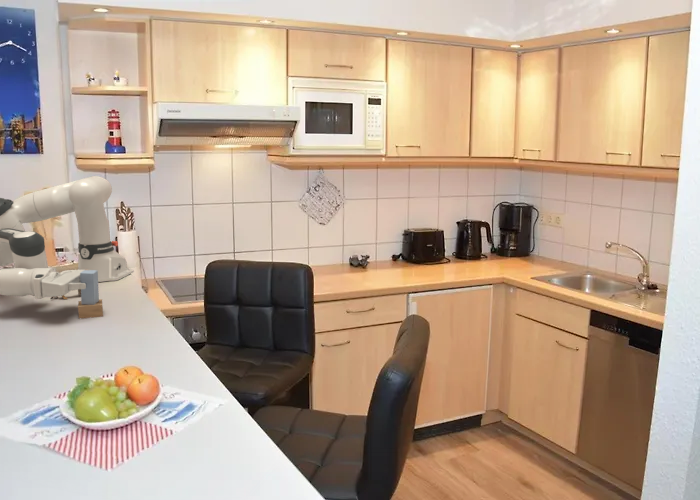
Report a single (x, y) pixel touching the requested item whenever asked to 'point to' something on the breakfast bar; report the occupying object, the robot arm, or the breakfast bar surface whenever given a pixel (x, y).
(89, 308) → the base brick
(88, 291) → the tall block
